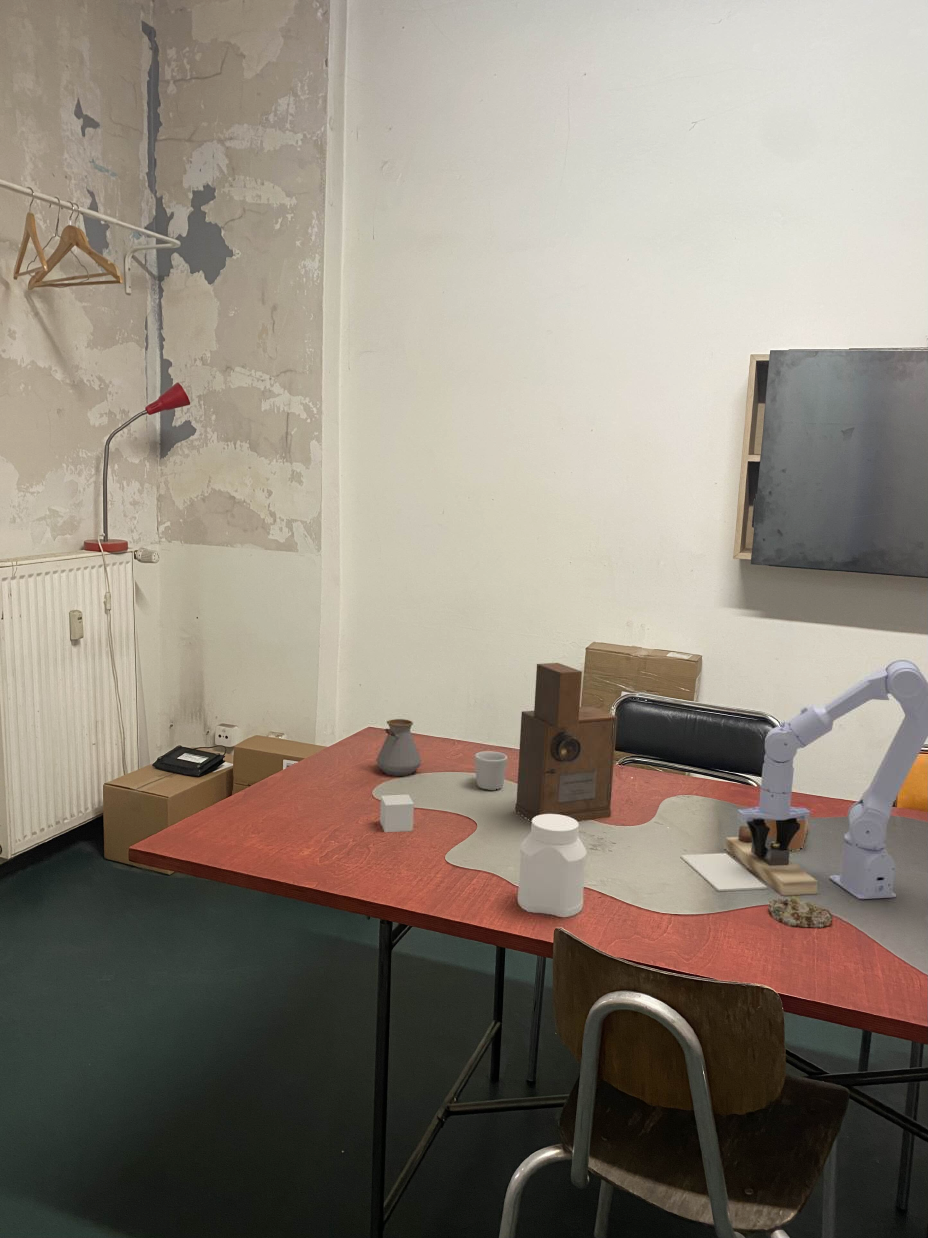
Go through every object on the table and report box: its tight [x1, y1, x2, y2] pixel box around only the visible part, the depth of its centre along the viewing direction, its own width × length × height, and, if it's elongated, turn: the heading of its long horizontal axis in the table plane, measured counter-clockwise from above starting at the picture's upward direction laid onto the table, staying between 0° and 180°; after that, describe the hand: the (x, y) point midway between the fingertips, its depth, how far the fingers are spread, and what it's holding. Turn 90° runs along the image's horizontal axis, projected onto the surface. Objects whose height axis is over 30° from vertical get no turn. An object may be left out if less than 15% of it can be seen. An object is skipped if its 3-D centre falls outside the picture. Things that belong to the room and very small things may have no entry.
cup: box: [474, 750, 509, 791], centre depth 223 cm, size 11×8×8 cm
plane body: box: [724, 825, 819, 897], centre depth 179 cm, size 22×7×5 cm, turn 12°
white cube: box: [379, 794, 415, 833], centre depth 193 cm, size 6×6×6 cm
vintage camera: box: [514, 662, 618, 822], centre depth 201 cm, size 19×14×35 cm
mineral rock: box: [768, 895, 834, 929], centre depth 159 cm, size 11×4×8 cm
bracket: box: [764, 819, 809, 851], centre depth 198 cm, size 18×8×7 cm, turn 155°
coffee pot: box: [375, 718, 422, 777], centre depth 225 cm, size 21×12×15 cm, turn 171°
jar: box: [517, 814, 587, 918], centre depth 159 cm, size 12×10×15 cm
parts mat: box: [679, 852, 768, 892], centre depth 177 cm, size 16×10×1 cm, turn 12°
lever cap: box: [751, 837, 791, 866], centre depth 179 cm, size 7×4×4 cm, turn 12°
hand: (769, 855), depth 179 cm, fingers closed on lever cap, 4 cm apart
